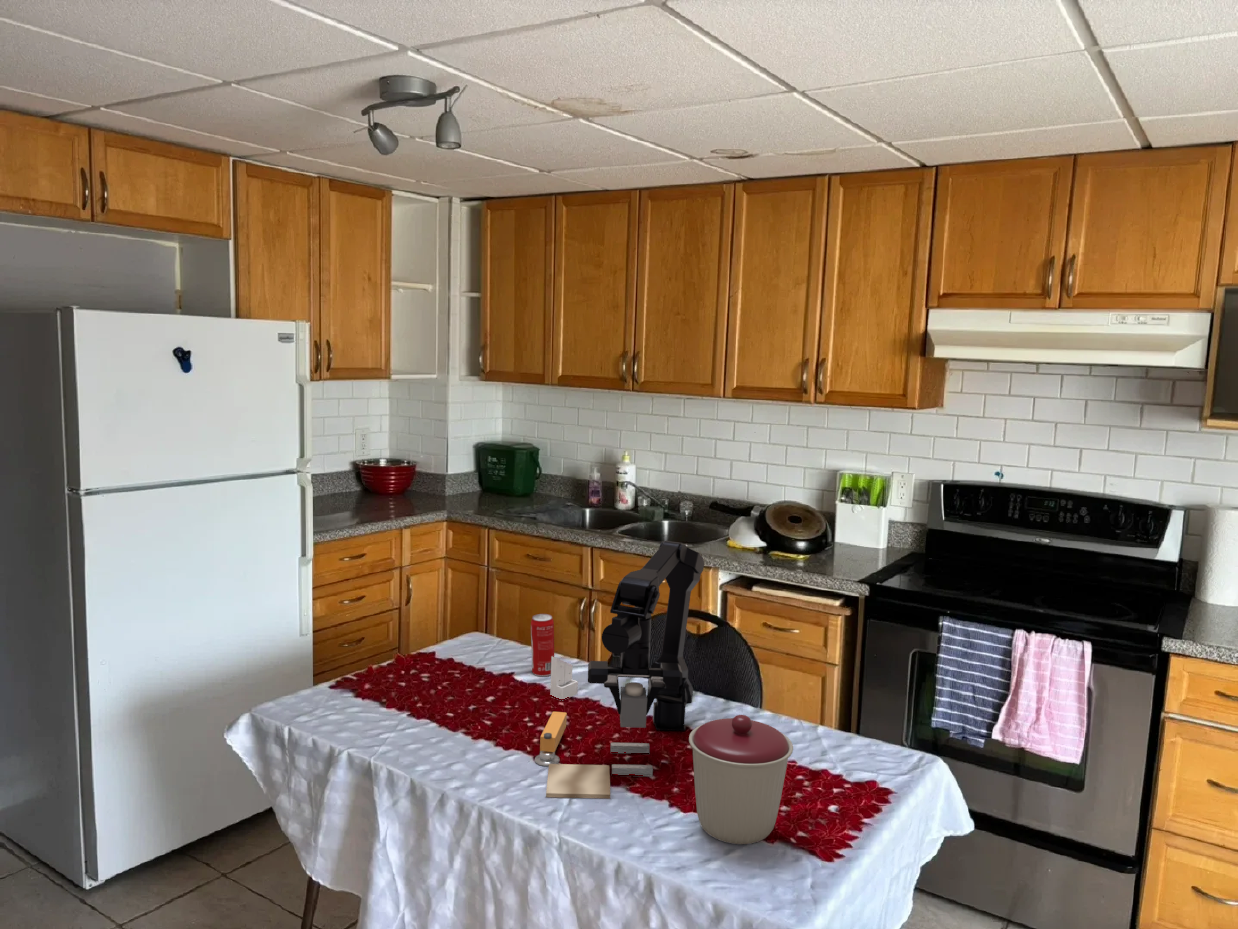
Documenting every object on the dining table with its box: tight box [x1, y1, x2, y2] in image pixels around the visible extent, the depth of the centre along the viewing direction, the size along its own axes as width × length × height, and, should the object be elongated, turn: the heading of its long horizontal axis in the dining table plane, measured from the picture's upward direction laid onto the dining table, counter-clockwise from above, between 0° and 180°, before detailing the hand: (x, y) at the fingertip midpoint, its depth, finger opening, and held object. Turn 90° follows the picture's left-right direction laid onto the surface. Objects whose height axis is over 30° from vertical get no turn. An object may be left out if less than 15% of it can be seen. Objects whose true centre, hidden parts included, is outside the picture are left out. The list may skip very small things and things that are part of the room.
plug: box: [619, 681, 647, 729], centre depth 189 cm, size 5×6×8 cm
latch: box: [539, 711, 568, 753], centre depth 195 cm, size 14×3×4 cm, turn 173°
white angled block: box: [549, 656, 579, 700], centre depth 223 cm, size 4×10×9 cm, turn 143°
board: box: [545, 763, 611, 800], centre depth 181 cm, size 12×12×1 cm
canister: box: [688, 714, 794, 845], centre depth 165 cm, size 18×18×21 cm
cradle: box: [534, 742, 654, 777], centre depth 190 cm, size 24×12×2 cm, turn 92°
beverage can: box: [530, 613, 555, 677], centre depth 237 cm, size 6×6×15 cm
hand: (632, 713), depth 189 cm, fingers closed on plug, 5 cm apart
